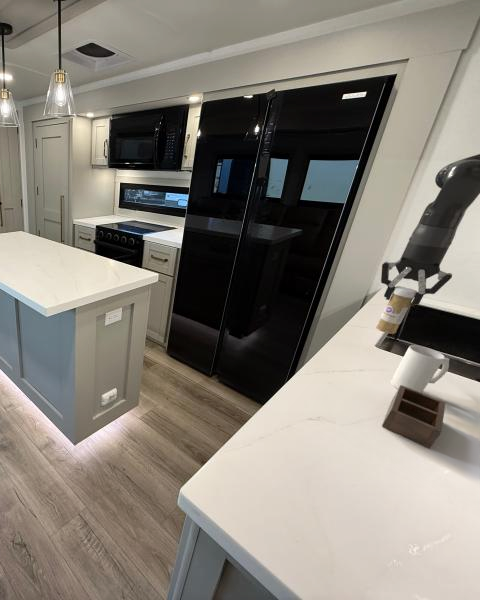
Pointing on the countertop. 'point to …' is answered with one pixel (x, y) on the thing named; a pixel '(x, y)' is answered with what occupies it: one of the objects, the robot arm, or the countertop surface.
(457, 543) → the countertop surface
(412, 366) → the mug
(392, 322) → the sprinkles bottle
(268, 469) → the countertop surface
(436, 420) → the rack
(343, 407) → the countertop surface
